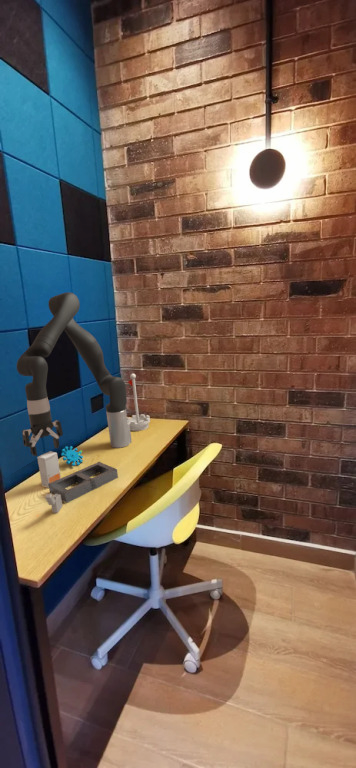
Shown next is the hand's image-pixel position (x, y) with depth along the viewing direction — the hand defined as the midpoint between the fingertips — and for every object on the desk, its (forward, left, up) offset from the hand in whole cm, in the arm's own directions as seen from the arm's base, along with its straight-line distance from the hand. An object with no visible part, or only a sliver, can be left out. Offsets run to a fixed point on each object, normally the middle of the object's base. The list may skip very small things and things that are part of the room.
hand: (45, 451), depth 132 cm
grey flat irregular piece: (+9, +20, -13) cm, 26 cm away
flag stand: (-61, -20, -14) cm, 66 cm away
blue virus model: (-15, -9, -14) cm, 22 cm away
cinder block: (-7, +12, -13) cm, 19 cm away
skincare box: (0, 0, -13) cm, 13 cm away
